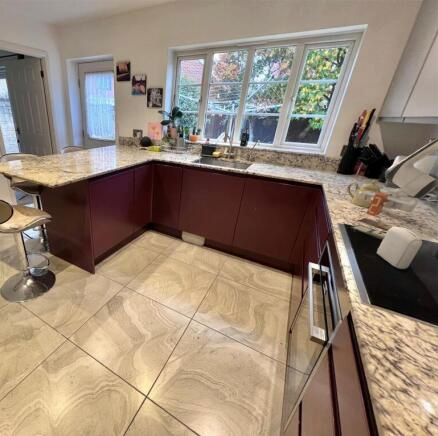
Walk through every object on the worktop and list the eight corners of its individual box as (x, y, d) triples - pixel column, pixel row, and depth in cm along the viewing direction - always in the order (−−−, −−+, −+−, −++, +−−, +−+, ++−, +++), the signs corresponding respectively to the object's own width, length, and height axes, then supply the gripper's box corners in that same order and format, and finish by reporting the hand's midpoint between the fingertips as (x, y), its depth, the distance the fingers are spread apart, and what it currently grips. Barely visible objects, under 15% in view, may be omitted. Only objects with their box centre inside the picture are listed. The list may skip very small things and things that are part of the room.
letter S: (379, 214, 109) (389, 194, 105) (373, 216, 107) (383, 195, 102) (371, 212, 111) (380, 192, 107) (365, 213, 109) (375, 193, 105)
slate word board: (410, 245, 93) (413, 241, 93) (401, 249, 90) (404, 245, 89) (358, 226, 108) (360, 222, 107) (349, 229, 105) (351, 225, 104)
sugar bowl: (343, 203, 137) (354, 178, 130) (342, 198, 145) (352, 174, 139) (377, 209, 129) (390, 183, 123) (373, 203, 138) (385, 179, 131)
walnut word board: (413, 236, 101) (415, 232, 100) (405, 239, 98) (407, 236, 97) (364, 219, 115) (366, 216, 114) (355, 222, 112) (357, 218, 111)
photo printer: (373, 252, 87) (389, 222, 82) (386, 253, 87) (403, 224, 81) (394, 268, 78) (413, 236, 73) (409, 270, 78) (429, 238, 72)
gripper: (368, 186, 119) (354, 189, 113) (424, 199, 102) (410, 203, 97) (363, 198, 121) (348, 201, 116) (416, 212, 105) (403, 217, 99)
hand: (377, 202), depth 106 cm, fingers closed on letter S, 3 cm apart
